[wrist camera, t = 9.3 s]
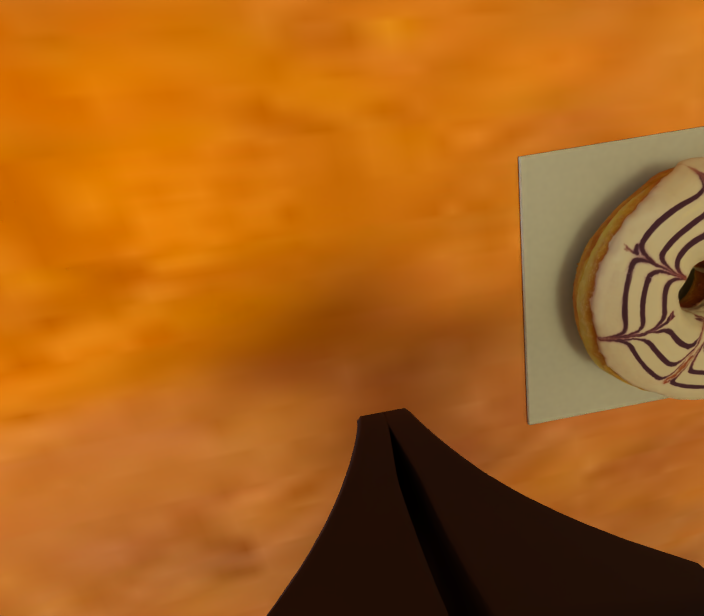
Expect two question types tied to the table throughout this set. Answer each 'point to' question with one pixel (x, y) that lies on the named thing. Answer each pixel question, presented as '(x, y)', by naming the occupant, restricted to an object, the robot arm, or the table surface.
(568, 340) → the placemat
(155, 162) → the table surface
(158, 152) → the table surface
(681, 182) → the decorated donut
